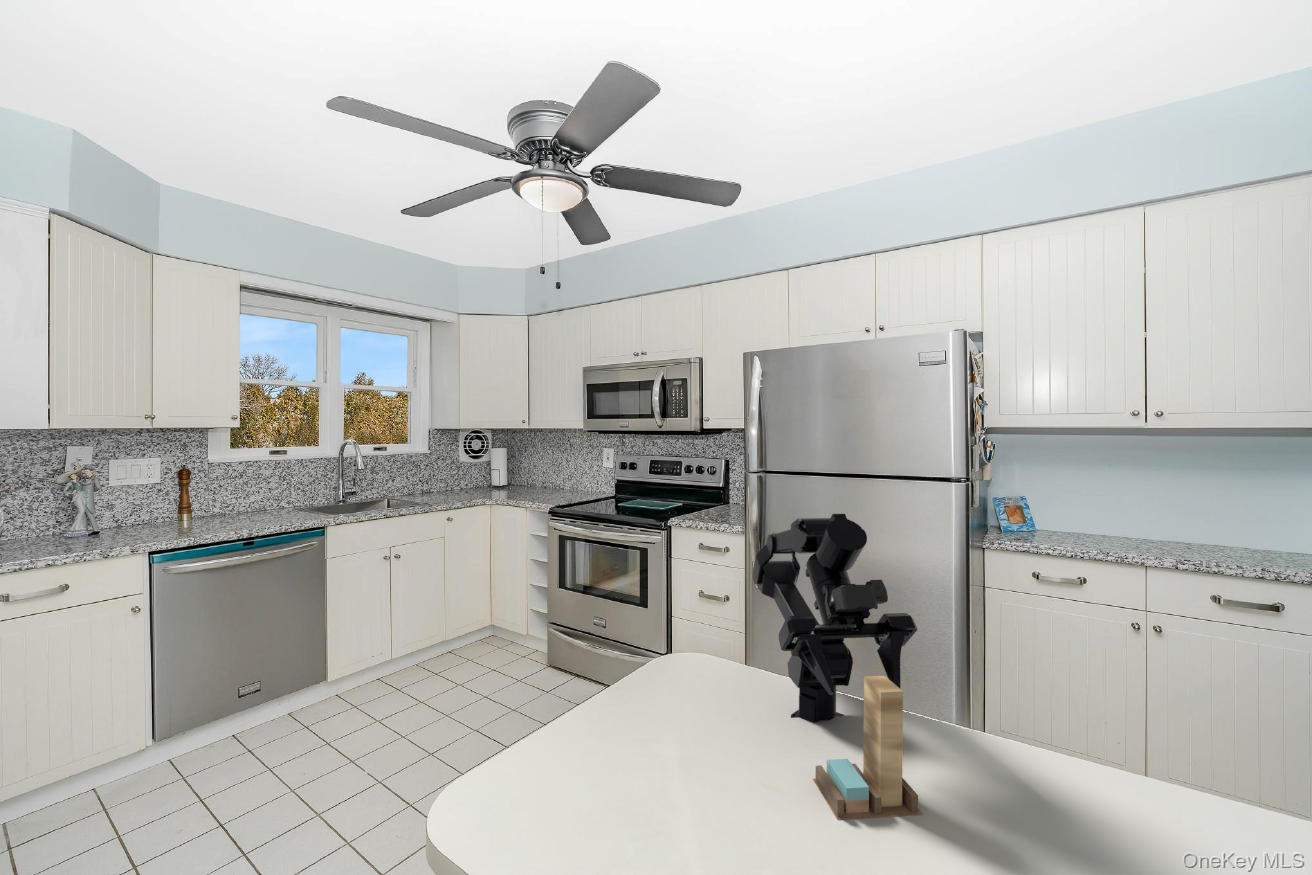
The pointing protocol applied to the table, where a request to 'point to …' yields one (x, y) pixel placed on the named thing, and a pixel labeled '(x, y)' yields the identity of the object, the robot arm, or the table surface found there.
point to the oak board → (883, 738)
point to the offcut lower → (854, 804)
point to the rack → (875, 808)
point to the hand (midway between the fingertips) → (865, 692)
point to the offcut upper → (847, 780)
